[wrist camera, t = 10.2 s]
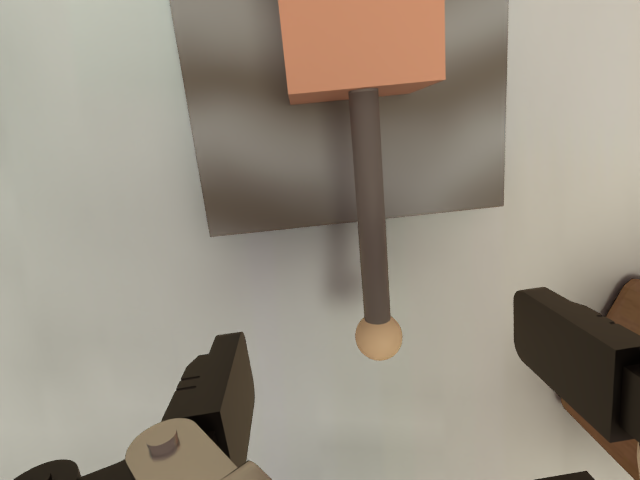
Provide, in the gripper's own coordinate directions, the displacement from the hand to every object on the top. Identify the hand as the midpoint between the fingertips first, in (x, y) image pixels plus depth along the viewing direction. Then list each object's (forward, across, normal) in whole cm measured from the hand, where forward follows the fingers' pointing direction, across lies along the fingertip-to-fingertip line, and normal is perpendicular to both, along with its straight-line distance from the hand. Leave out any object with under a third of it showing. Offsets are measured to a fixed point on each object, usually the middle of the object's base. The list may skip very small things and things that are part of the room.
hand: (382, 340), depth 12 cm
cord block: (+10, -1, -5) cm, 11 cm away
